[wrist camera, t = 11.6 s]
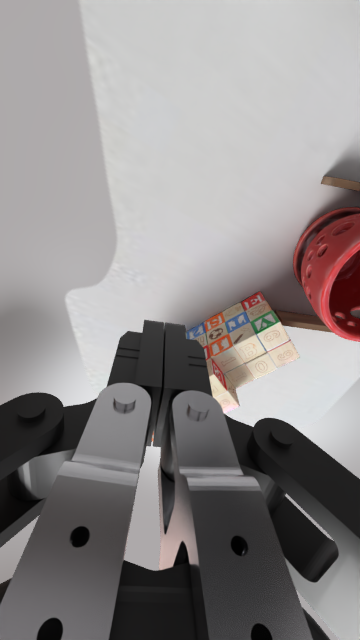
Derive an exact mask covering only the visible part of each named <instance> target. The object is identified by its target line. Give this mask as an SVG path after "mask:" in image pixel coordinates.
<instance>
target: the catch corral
mask: <svg viewBox="0 0 360 640" xmlns="http://www.w3.org/2000/svg"><path fill="white" fill-rule="evenodd" d="M321 184H326V185H331V186H336V187H341V188H346V189H351V190H356V191H360V182H355V181H350V180H345V179H340V178H334V177H326V176H323V179H322V182H321ZM274 313H275V315H276V316H277V317H278V319H279V321H280V322H281V324H282V325H283V326H290V327H297V328H305V329H312V330H319V331H326V332H332V331H331V330H330V329H329V328H328V327H327V326H326V325H325V324H324V323H323V321H322V320H321V319H320V318H319V316H312V315H305V314H298V313H291V312H284V311H278V310H275V312H274ZM350 326H352V325H350Z"/></svg>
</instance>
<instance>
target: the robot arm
mask: <svg viewBox="0 0 360 640" xmlns="http://www.w3.org/2000/svg"><path fill="white" fill-rule="evenodd" d="M153 431H154V435H153ZM152 436H153V446H155V447H161V458H160V463H159V468H158V489H159V513H160V536H161V546H160V559H159V570H158V571H153V570H149V569H146V568H144V567H141V566H138V565H136V564H133V563H130V562H128V561H125V560H124V556H125V550H126V545H127V539H128V533H129V528H130V522H131V517H132V511H133V505H134V500H135V494H136V489H137V483H138V477H139V472H140V468H141V466H142V464H143V462H144V456H145V451H146V446H151V442H152ZM286 493H287V494H288V495H289V496H290V497H291V498H292V499H293V500H294V501H295V502H296V503H297V504H298V505H299V506H300V507H301V508H303V510H304V511H305V512H307V514H309V515H310V516H311V517H312V518H313V519H314V520H315V521H316V522H317V523H318V524H319V525H320V526H321V527H322V528H323V529H324V530H325V531H326V532H327V533H328V534H329V535H330V536H331V537H332V538H333V540H334V541H333V540H331V539H329V538H328V537H327V536H326V535H324V534H323V533H322V532H321V531H320V530H319V529H318V528H317V527H316V526H315V525H314V524H313V523H312V522H311V521H310V520H309V519H308V518H307V517H306V516H305V515H304V514H303V513H302V512H301V511H300V510H299V509H298V508H297V507H296V506H294V504H293V503H292V502H291V501H289V499H287V497H285V495H286ZM37 516H39V517H38V520H37V522H36V524H35V527H34V529H33V531H32V533H31V536H30V538H29V541H28V543H27V545H26V547H25V549H24V552H23V554H22V556H21V559H20V561H19V563H18V565H17V568H16V570H15V572H14V574H13V577H12V578H11V579H9V580H7V581H5V582H3V583H1V584H0V640H330V639H329V638H328V636H327V635H326V634H325V633H324V631H323V630H322V629H321V628H320V626H319V625H318V624H317V623H316V622H315V620H314V619H313V618H312V617H311V616H310V615H309V614H308V613H307V612H306V611H305V610H304V609H303V608H302V607H301V604H300V601H299V598H298V595H297V592H296V590H297V591H298V592H299V593H300V594H301V595H302V597H303V598H304V599H305V600H306V601H307V602H308V604H309V605H310V606H311V607H312V608H313V610H314V611H315V612H316V613H317V614H318V615H319V617H321V619H322V620H323V621H324V622H325V624H326V625H327V626H328V627H329V628H330V629H331V631H332V632H333V633H334V634H335V635H336V636H337V638H338V639H339V640H360V479H359V478H357V477H356V476H355V475H353V474H352V473H351V472H350V471H348V470H347V469H346V468H345V467H344V466H342V465H341V464H340V463H338V462H337V461H336V460H335V459H333V458H332V457H331V456H330V455H328V454H327V453H326V452H325V451H323V450H322V449H321V448H320V447H318V446H317V445H316V444H314V443H313V442H312V441H311V440H309V439H308V438H307V437H306V436H304V435H303V434H302V433H300V432H299V431H298V430H297V429H295V428H294V427H293V426H291V425H290V424H288V423H286V422H284V421H282V420H279V419H275V418H264V419H261V420H259V421H258V422H257V423H256V424H255V425H254V427H252V426H249V425H246V424H244V423H241V422H238V421H236V420H234V419H232V418H230V417H228V416H227V415H225V414H224V413H223V409H222V407H221V405H220V404H219V402H218V401H217V400H216V399H215V398H213V395H212V390H211V384H210V379H209V373H208V368H207V362H206V356H205V351H204V348H203V347H202V346H201V344H200V343H199V342H198V341H197V340H192V339H186V331H185V325H179V324H172V323H165V326H164V322H157V321H149V320H144V326H143V333H138V332H131V331H128V332H127V333H125V334H124V335H123V336H122V337H121V338H120V340H119V344H118V348H117V351H116V355H115V359H114V362H113V366H112V370H111V373H110V377H109V381H108V384H107V387H106V388H105V389H103V390H102V391H101V393H100V394H99V396H98V398H97V399H95V400H93V401H91V402H88V403H85V404H80V405H73V406H67V407H63V404H62V402H61V401H60V400H59V399H58V398H57V397H55V396H53V395H51V394H47V393H29V394H25V395H21V396H19V397H17V398H14V399H13V400H10V401H8V402H6V403H4V404H2V405H0V547H2V546H3V545H4V544H5V543H6V542H7V541H9V540H10V539H11V538H12V537H14V535H16V534H17V533H18V532H19V531H20V530H22V529H23V528H24V527H25V526H27V525H28V524H29V523H30V522H31V521H33V520H34V519H35V518H36V517H37ZM295 588H296V589H295Z"/></svg>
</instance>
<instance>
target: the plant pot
mask: <svg viewBox="0 0 360 640" xmlns="http://www.w3.org/2000/svg"><path fill="white" fill-rule="evenodd" d="M293 268H294V273H295V276H296V278H297V280H298V282H299V283H300V285H301V286H302V287H303V289H304V292H305V294H306V296H307V298H308V300H309V301H310V303H311V305H312V307H313V309H314V311H315V312H316V314H317V315H318V316H319V318H320V319H321V320H322V321H323V323H324V324H325V325H326V326H327V327H328V328H329V329H330V330H331V331H332V332H333V333H335V334H336V335H338V336H340V337H342V338H345V339H348V340H352V341H358V342H360V319H359V318H356V317H353V316H352V315H351V313H350V312H351V311H354V310H360V208H358V207H347V208H341V209H337V210H334V211H331V212H329V213H327V214H325V215H323V216H321V217H320V218H318V219H317V220H316V221H315V222H313V223H312V224H311V225H310V226H309V227H308V228H307V229H306V231H305V232H304V233H303V235H302V236H301V238H300V239H299V241H298V244H297V246H296V249H295V252H294V257H293ZM335 315H337V316H340V317H342V318H343V319H341V318H338V317H336V316H335ZM350 325H352V326H350Z"/></svg>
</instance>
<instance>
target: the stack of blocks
mask: <svg viewBox="0 0 360 640" xmlns="http://www.w3.org/2000/svg"><path fill="white" fill-rule="evenodd" d="M186 339H192V340H197V341H198V342H199V343H200V344H201V346H202V347H203V348H204V351H205V356H206V362H207V368H208V373H209V379H210V384H211V390H212V395H213V398H215V399H216V400H217V401H218V402H219V404H220V405H221V407H222V409H223V413H224V414H225V413H227V412H229V411H231V410H233V409H235V408H237V407H239V406H240V405H239V401H238V397H237V393H236V388H238V387H240V386H242V385H244V384H246V383H248V382H250V381H253V380H254V379H258V378H260V377H262V376H264V375H266V374H268V373H270V372H272V371H274V370H276V369H278V368H279V367H281V366H284V365H286V364H288V363H290V362H292V361H294V360H296V359H298V358H300V356H299V354H298V352H297V351H296V349H295V347H294V345H293V343H292V341H291V340H290V338H289V337H288V335H287V333H286V331H285V329H284V328H283V326H282V324H281V322H280V321H279V319H278V317H277V316H276V315H275V313H274V312H273V310H272V309H271V307H270V306H269V304H268V302H267V301H266V300H265V298H264V296H263V295H262V293H261V292H258V293H256V294H254V295H253V296H251V297H249V298H247V299H245V300H244V301H242V302H239V303H237V304H235V305H233V306H232V307H230V308H228V309H226V310H225V311H223V312H221V313H219V314H217V315H215V316H213V317H212V318H210V319H208V320H206V321H205V322H204V323H202V324H200V325H198V326H196V327H194V328H193V329H191V330H189V331H187V332H186ZM153 435H154V431H153ZM152 441H153V436H152Z"/></svg>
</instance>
